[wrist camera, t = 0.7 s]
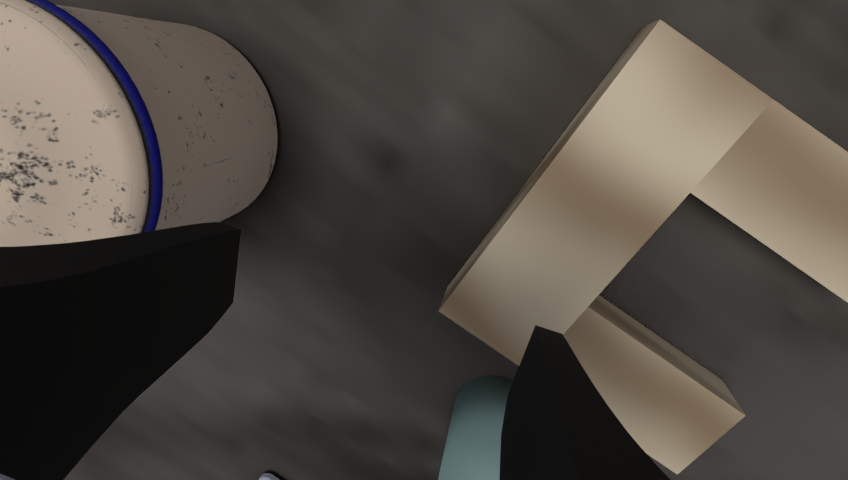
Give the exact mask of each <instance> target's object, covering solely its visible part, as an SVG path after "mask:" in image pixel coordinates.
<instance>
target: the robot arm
mask: <svg viewBox="0 0 848 480" xmlns="http://www.w3.org/2000/svg"><path fill="white" fill-rule="evenodd" d="M240 231H241V230H240V229H237V228H234V227H231V226H228V225H225V224H221V223H218V222H209V223H199V224H192V225H185V226H179V227H173V228H167V229H161V230H155V231H149V232H143V233H137V234H131V235H124V236H117V237H110V238H103V239H96V240H89V241H81V242H72V243H61V244H49V245H34V246H16V247H0V480H63V479H64V478H65V477H66V476H67V475H68V473H69V472H70V471H71V470H72V469H73V468H74V466H75V465H76V464H77V463H78V462H79V460H80V459H81V458H82V457H83V456H84V455H85V453H86V452H87V451H88V450H89V449H90V447H91V446H92V445H93V444H94V443H95V442H96V441H97V440H98V439H99V437H100V436H101V435H102V434H103V433H104V432H105V431H106V430H107V429H108V427H109V426H110V425H111V424H112V423H113V422H114V421H115V420H116V419H117V417H118V416H119V415H120V414H121V413H122V412H123V411H124V410H125V409H126V408H127V407H128V406H129V405H130V404H131V403H132V402H133V401H134V400H135V399H136V398H137V397H138V396H139V395H140V394H141V393H143V392H144V391H145V390H146V389H147V388H148V387H149V386H150V385H151V384H153V383H154V382H155V381H156V380H157V379H158V378H159V377H160V376H161V375H163V374H164V373H165V372H166V371H167V370H168V369H169V368H170V367H171V366H173V365H174V364H175V363H176V362H177V361H178V360H179V359H180V358H181V357H182V356H184V355H185V354H186V353H187V352H188V351H189V350H190V349H191V348H192V347H193V346H194V345H196V344H197V343H198V342H199V341H200V340H201V339H202V338H203V337H204V336H205V335H206V334H207V333H208V332H209V331H210V330H211V329H212V328H213V326H214V325H215V324H216V323H217V322H218V321H219V319H220V318H221V317H222V316H223V314H224V313H225V312H226V311H227V309H228V308H229V307H230V305H231V304H232V303H233V297H234V288H235V278H236V269H237V259H238V250H239V240H240ZM259 480H280V479H278V478H277V477H275V476H274V475H272V474H270V473H264V474H263V475H261V477H260V478H259ZM500 480H670V479H669V478H668V477H667V476H666V475H665V474H664V473H663V472H662V471H661V470H660V468H659V467H658V466H657V465H656V464H655V463H654V462H653V461H652V460H651V458H650V457H649V456H648V455H647V454H646V453H645V452H644V451H643V449H642V448H641V447H640V446H639V445H638V444H637V443H636V441H635V440H634V439H633V438H632V437H631V435H630V434H629V433H628V432H627V430H626V429H625V428H624V427H623V425H622V424H621V422H620V421H619V420H618V418H617V417H616V416H615V414H614V413H613V412H612V410H611V409H610V408H609V406H608V405H607V404H606V402H605V401H604V399H603V398H602V396H601V395H600V393H599V392H598V390H597V389H596V387H595V386H594V384H593V383H592V381H591V380H590V378H589V377H588V375H587V373H586V372H585V370H584V369H583V367H582V365H581V364H580V362H579V360H578V359H577V357H576V355H575V354H574V352H573V350H572V349H571V347H570V345H569V344H568V342H567V340H566V339H565V337H564V336H563V334H561V333H558V332H555V331H552V330H549V329H546V328H543V327H540V326H537V325H535V328H534V330H533V333H532V335H531V338H530V340H529V343H528V345H527V348H526V350H525V353H524V355H523V358H522V360H521V363H520V365H519V368H518V371H517V373H516V376H515V378H514V381H513V383H512V386H511V388H510V391H509V393H508V396H507V402H506V408H505V414H504V420H503V426H502V432H501V451H500Z"/></svg>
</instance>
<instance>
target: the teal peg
mask: <svg viewBox="0 0 848 480" xmlns="http://www.w3.org/2000/svg"><path fill="white" fill-rule="evenodd" d="M512 383H513V380H510V379H507V378H504V377H499V376H485V377H480V378H477V379H474V380H472V381H470V382H468V383H467V384H466V385H464V386H463V387H462V388H461V390H460V391H459V392H458V394H457V396H456V399H455V402H454V407H453V411H452V416H451V421H450V426H449V430H448V435H447V440H446V445H445V449H444V454H443V459H442V463H441V468H440V473H439V478H438V480H500V451H501V432H502V426H503V420H504V414H505V408H506V402H507V396H508V393H509V391H510V388H511V386H512Z"/></svg>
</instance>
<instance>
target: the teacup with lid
mask: <svg viewBox="0 0 848 480" xmlns="http://www.w3.org/2000/svg"><path fill="white" fill-rule="evenodd" d="M277 139H278V134H277V124H276V118H275V113H274V109H273V105H272V103H271V100H270V97H269V94H268V92H267V90H266V88H265V86H264V84H263V82H262V80H261V79H260V77H259V75H258V74H257V72H256V71H255V69H254V68H253V67H252V66H251V64H250V63H249V62H248V61H247V59H246V58H245V57H244V56H243V55H242V54H241V53H240V52H239V51H237V50H236V49H235V48H234V47H233V46H232V45H230V44H229V43H228V42H226V41H225V40H223V39H222V38H220V37H218V36H216V35H215V34H213V33H210V32H208V31H206V30H203V29H200V28H197V27H194V26H190V25H185V24H179V23H172V22H166V21H159V20H152V19H146V18H139V17H133V16H126V15H120V14H113V13H107V12H100V11H94V10H87V9H81V8H74V7H67V6H61V5H55V4H53V3H51V2H49V1H47V0H0V247H16V246H34V245H49V244H61V243H72V242H81V241H89V240H96V239H103V238H110V237H117V236H124V235H131V234H137V233H143V232H149V231H155V230H161V229H167V228H173V227H179V226H185V225H192V224H199V223H209V222H220V221H222V220H224V219H226V218H229V217H231V216H233V215H235V214H236V213H238V212H240V211H242V210H243V209H244V208H246V207H247V206H248V205H249V204H251V203H252V202H253V201H254V200H255V199H256V198H257V197H258V195H259V194H260V193H261V191H262V190H263V189H264V187H265V185H266V184H267V182H268V180H269V177H270V175H271V173H272V170H273V167H274V163H275V158H276V153H277Z"/></svg>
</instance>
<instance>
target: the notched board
mask: <svg viewBox="0 0 848 480" xmlns="http://www.w3.org/2000/svg"><path fill="white" fill-rule="evenodd" d="M689 193H692V194H693V195H694V196H696V197H697V198H699V199H700V200H702V201H703V202H704V203H706V204H707V205H709V206H710V207H712V208H713V209H714V210H716V211H717V212H719V213H720V214H722V215H723V216H724V217H726V218H727V219H729V220H730V221H732V222H733V223H734V224H736V225H737V226H739V227H740V228H742V229H743V230H744V231H746V232H747V233H749V234H750V235H752V236H753V237H754V238H756V239H757V240H759V241H760V242H762V243H763V244H764V245H766V246H767V247H769V248H770V249H772V250H773V251H774V252H776V253H777V254H779V255H780V256H782V257H783V258H784V259H786V260H787V261H789V262H790V263H792V264H793V265H794V266H796V267H797V268H799V269H800V270H802V271H803V272H804V273H806V274H807V275H809V276H810V277H812V278H813V279H814V280H816V281H817V282H819V283H820V284H822V285H823V286H824V287H826V288H827V289H829V290H830V291H832V292H833V293H834V294H836V295H837V296H839V297H840V298H842V299H843V300H844V301H846V302H847V303H848V152H847V151H845V150H844V149H843V148H841V147H840V146H838V145H837V144H835V143H834V142H833V141H831V140H830V139H828V138H827V137H826V136H824V135H823V134H821V133H820V132H819V131H817V130H816V129H814V128H813V127H811V126H810V125H809V124H807V123H806V122H804V121H803V120H802V119H800V118H799V117H797V116H796V115H794V114H793V113H792V112H790V111H789V110H787V109H786V108H785V107H783V106H782V105H780V104H779V103H778V102H776V101H775V100H773V99H772V98H770V97H769V96H768V95H766V94H765V93H763V92H762V91H761V90H759V89H758V88H756V87H755V86H754V85H752V84H751V83H749V82H748V81H746V80H745V79H744V78H742V77H741V76H739V75H738V74H737V73H735V72H734V71H732V70H731V69H729V68H728V67H727V66H725V65H724V64H722V63H721V62H720V61H718V60H717V59H715V58H714V57H713V56H711V55H710V54H708V53H707V52H705V51H704V50H703V49H701V48H700V47H698V46H697V45H696V44H694V43H693V42H691V41H690V40H689V39H687V38H686V37H684V36H683V35H681V34H680V33H679V32H677V31H676V30H674V29H673V28H672V27H670V26H669V25H667V24H666V23H664V22H663V21H662V20H657V21H655V22H653V23H650V24H648V25H645V26H643V27H642V29H641V30H640V31H639V33H638V34H637V35H636V37H635V38H634V39H633V41H632V42H631V43H630V45H629V46H628V47H627V49H626V50H625V51H624V53H623V54H622V55H621V57H620V58H619V59H618V61H617V62H616V63H615V65H614V66H613V67H612V69H611V70H610V71H609V73H608V74H607V75H606V77H605V78H604V79H603V81H602V82H601V83H600V85H599V86H598V87H597V89H596V90H595V91H594V93H593V94H592V95H591V97H590V98H589V99H588V101H587V102H586V103H585V104H584V106H583V107H582V108H581V110H580V111H579V112H578V114H577V115H576V116H575V118H574V119H573V120H572V122H571V123H570V124H569V126H568V127H567V128H566V130H565V131H564V132H563V134H562V135H561V136H560V138H559V139H558V140H557V142H556V143H555V144H554V146H553V147H552V148H551V150H550V151H549V152H548V154H547V155H546V156H545V158H544V159H543V160H542V162H541V163H540V164H539V166H538V167H537V168H536V170H535V171H534V172H533V174H532V175H531V176H530V178H529V179H528V180H527V182H526V183H525V184H524V186H523V187H522V188H521V190H520V191H519V192H518V194H517V195H516V196H515V198H514V199H513V200H512V202H511V203H510V204H509V206H508V207H507V208H506V210H505V211H504V212H503V214H502V215H501V216H500V218H499V219H498V220H497V222H496V223H495V224H494V226H493V227H492V228H491V230H490V231H489V232H488V234H487V235H486V236H485V238H484V239H483V240H482V242H481V243H480V244H479V246H478V247H477V248H476V250H475V251H474V252H473V254H472V255H471V256H470V258H469V259H468V260H467V262H466V263H465V264H464V266H463V267H462V268H461V270H460V271H459V272H458V274H457V275H456V276H455V278H454V279H453V280H452V282H451V283H450V284H449V286H448V287H447V289H446V292H445V294H444V297H443V300H442V303H441V306H440V308H439V312H440V313H442V314H443V315H445V316H446V317H448V318H449V319H451V320H452V321H454V322H455V323H457V324H458V325H459V326H461V327H462V328H464V329H465V330H467V331H468V332H470V333H471V334H473V335H474V336H476V337H477V338H478V339H480V340H481V341H483V342H484V343H486V344H487V345H489V346H490V347H492V348H493V349H495V350H496V351H497V352H499V353H500V354H502V355H503V356H505V357H506V358H508V359H509V360H511V361H512V362H514V363H515V364H516V365H518V366H519V365H520V363H521V360H522V358H523V355H524V353H525V350H526V348H527V345H528V343H529V340H530V338H531V335H532V333H533V330H534V328H535V325H537V326H540V327H543V328H546V329H549V330H552V331H555V332H558V333H561V334H563V336H564V337H565V339H566V340H567V342H568V344H569V345H570V347H571V349H572V350H573V352H574V354H575V355H576V357H577V359H578V360H579V362H580V364H581V365H582V367H583V369H584V370H585V372H586V373H587V375H588V377H589V378H590V380H591V381H592V383H593V384H594V386H595V387H596V389H597V390H598V392H599V393H600V395H601V396H602V398H603V399H604V401H605V402H606V404H607V405H608V406H609V408H610V409H611V410H612V412H613V413H614V414H615V416H616V417H617V418H618V420H619V421H620V422H621V424H622V425H623V427H624V428H625V429H626V430H627V432H628V433H629V434H630V435H631V437H632V438H633V439H634V440H635V441H636V443H637V444H638V445H639V446H640V447H641V448H642V449H643V451H644V452H645V453H646V454H648V455H649V456H651V457H652V458H654V459H655V460H657V461H658V462H660V463H661V464H663V465H664V466H665V467H667V468H668V469H670V470H671V471H673V472H674V473H676V474H679V473H680V472H681V471H682V470H683V469H684V468H686V467H687V466H688V465H689V464H690V463H691V462H693V461H694V460H695V459H696V458H697V457H698V456H699V455H701V454H702V453H703V452H704V451H705V450H706V449H708V448H709V447H710V446H711V445H712V444H713V443H715V442H716V441H717V440H718V439H719V438H720V437H722V436H723V435H724V434H725V433H726V432H727V431H728V430H730V429H731V428H732V427H733V426H734V425H735V424H737V423H738V422H739V421H740V420H741V419H742V418H744V417H745V416H746V415H745V414H744V412H743V411H742V409H741V408H740V406H739V405H738V403H737V402H736V400H735V399H734V397H733V396H732V394H731V393H730V391H729V389H728V388H727V386H726V385H725V383H724V382H723V380H721V379H720V378H719V377H717V376H716V375H714V374H713V373H711V372H710V371H708V370H707V369H706V368H704V367H703V366H701V365H700V364H698V363H697V362H695V361H694V360H693V359H691V358H690V357H688V356H687V355H685V354H684V353H682V352H681V351H679V350H678V349H677V348H675V347H674V346H672V345H671V344H669V343H668V342H666V341H665V340H664V339H662V338H661V337H659V336H658V335H656V334H655V333H653V332H652V331H651V330H649V329H648V328H646V327H645V326H643V325H642V324H640V323H639V322H638V321H636V320H635V319H633V318H632V317H630V316H629V315H627V314H626V313H625V312H623V311H622V310H620V309H619V308H617V307H616V306H614V305H613V304H611V303H610V302H609V301H607V300H606V299H604V298H603V297H601V296H600V295H599V294H600V293H601V292H602V291H603V289H604V288H605V287H606V286H607V285H608V284H609V283H610V282H611V281H612V279H613V278H614V277H615V276H616V275H617V274H618V273H619V272H620V270H621V269H622V268H623V267H624V266H625V265H626V264H627V263H628V262H629V260H630V259H631V258H632V257H633V256H634V255H635V254H636V253H637V251H638V250H639V249H640V248H641V247H642V246H643V245H644V244H645V243H646V241H647V240H648V239H649V238H650V237H651V236H652V235H653V234H654V233H655V231H656V230H657V229H658V228H659V227H660V226H661V225H662V224H663V222H664V221H665V220H666V219H667V218H668V217H669V216H670V215H671V214H672V212H673V211H674V210H675V209H676V208H677V207H678V206H679V205H680V203H681V202H682V201H683V200H684V199H685V198H686V197H687V196H688V195H689Z"/></svg>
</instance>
